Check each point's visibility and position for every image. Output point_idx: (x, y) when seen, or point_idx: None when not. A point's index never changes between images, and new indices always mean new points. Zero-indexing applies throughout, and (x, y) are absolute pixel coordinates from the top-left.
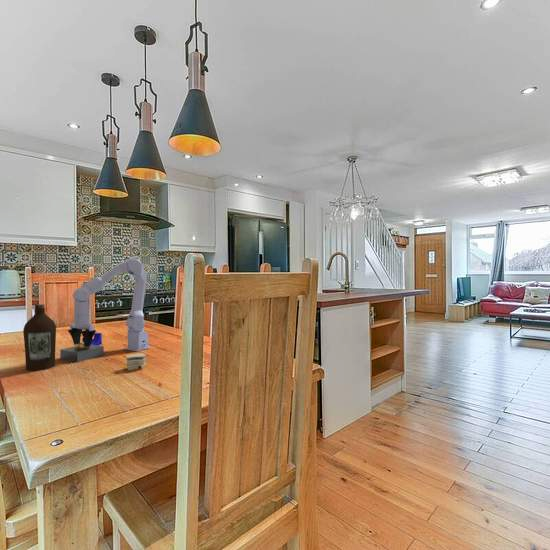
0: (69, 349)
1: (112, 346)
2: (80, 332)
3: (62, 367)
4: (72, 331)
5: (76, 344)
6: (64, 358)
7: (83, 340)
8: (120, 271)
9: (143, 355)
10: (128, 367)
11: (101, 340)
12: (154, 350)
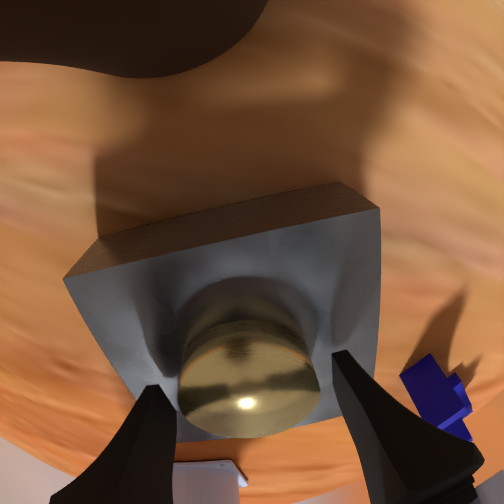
0: (289, 276)
1: (342, 444)
2: (370, 490)
3: (27, 118)
4: (398, 488)
5: (247, 365)
6: (279, 195)
7: (450, 398)
8: None
9: None
10: None
11: None
12: None
